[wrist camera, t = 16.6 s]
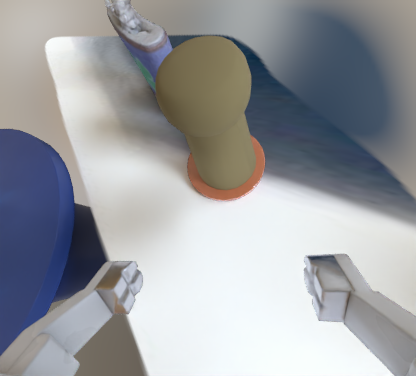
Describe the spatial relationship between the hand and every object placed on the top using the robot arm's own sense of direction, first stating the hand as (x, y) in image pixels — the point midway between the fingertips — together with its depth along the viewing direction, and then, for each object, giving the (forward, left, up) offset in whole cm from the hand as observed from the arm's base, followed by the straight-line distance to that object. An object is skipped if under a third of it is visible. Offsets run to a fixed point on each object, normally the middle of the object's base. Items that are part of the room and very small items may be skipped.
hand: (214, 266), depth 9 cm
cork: (+5, +8, -8) cm, 12 cm away
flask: (+5, +20, -8) cm, 22 cm away
